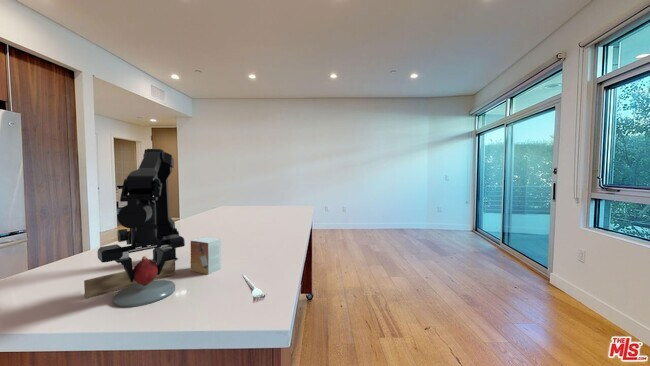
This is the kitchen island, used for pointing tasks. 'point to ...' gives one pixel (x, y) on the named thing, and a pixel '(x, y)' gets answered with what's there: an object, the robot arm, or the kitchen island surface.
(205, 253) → the small box
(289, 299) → the kitchen island surface
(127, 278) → the walnut screen
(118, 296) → the slate plate
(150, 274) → the onion
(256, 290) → the fork
